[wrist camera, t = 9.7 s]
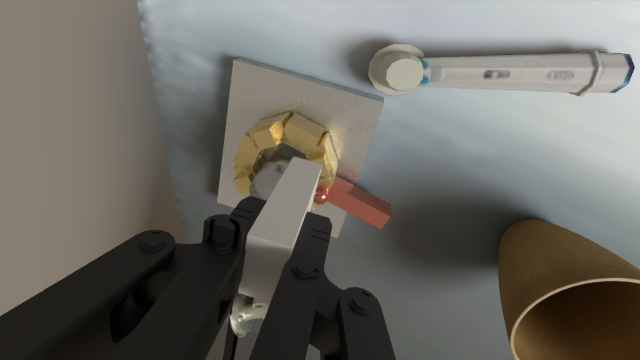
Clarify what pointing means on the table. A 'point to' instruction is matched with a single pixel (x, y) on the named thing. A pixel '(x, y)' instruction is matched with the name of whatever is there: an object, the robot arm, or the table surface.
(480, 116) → the table surface
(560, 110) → the table surface
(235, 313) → the butterfly valve
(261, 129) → the yellow valve with lever
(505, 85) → the white handheld device
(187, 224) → the table surface
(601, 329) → the plant pot
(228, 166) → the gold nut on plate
